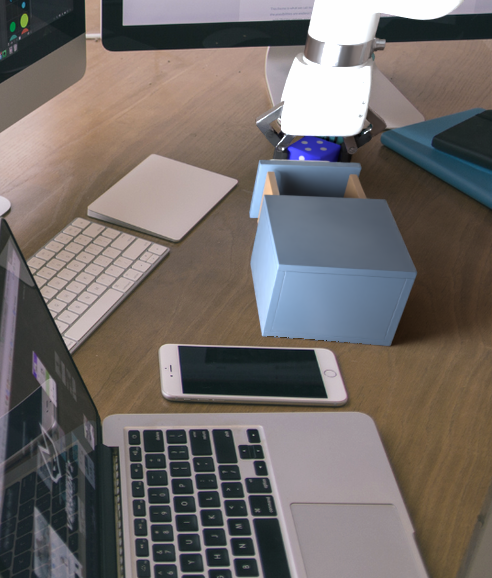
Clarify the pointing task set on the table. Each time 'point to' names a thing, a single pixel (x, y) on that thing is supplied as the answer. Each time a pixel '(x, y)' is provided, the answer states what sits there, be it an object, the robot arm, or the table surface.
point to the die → (313, 150)
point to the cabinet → (330, 269)
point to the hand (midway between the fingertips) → (307, 173)
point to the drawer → (305, 180)
